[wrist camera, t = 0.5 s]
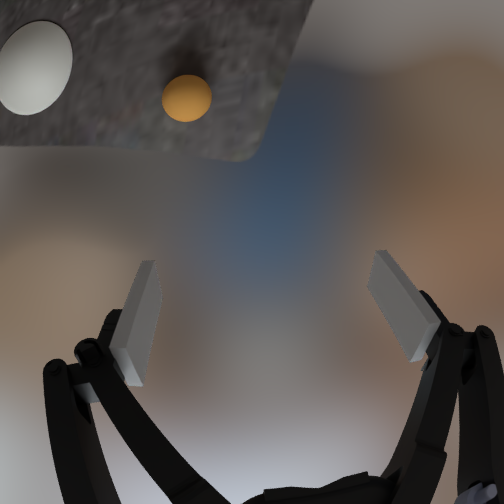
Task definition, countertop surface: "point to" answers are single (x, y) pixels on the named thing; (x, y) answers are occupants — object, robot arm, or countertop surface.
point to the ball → (186, 98)
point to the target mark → (34, 67)
